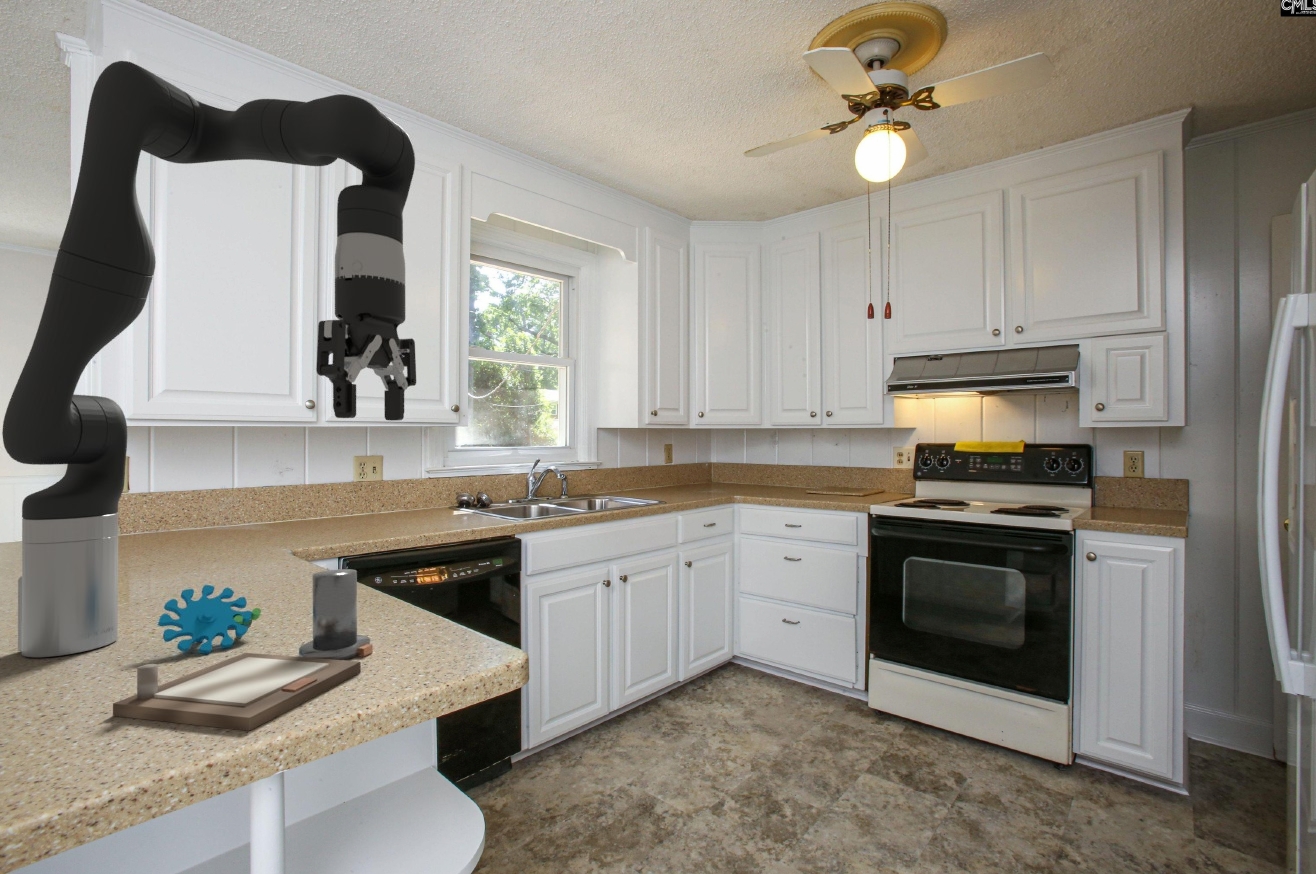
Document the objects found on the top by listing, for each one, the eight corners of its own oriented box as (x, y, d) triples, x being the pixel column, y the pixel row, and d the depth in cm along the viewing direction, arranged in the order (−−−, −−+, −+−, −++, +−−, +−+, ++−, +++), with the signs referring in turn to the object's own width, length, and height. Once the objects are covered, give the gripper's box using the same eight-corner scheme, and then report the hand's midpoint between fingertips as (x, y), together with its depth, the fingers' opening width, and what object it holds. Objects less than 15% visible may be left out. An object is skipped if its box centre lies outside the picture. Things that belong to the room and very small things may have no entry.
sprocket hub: (283, 660, 76) (283, 578, 76) (330, 640, 84) (330, 566, 84) (345, 665, 74) (345, 581, 74) (388, 644, 82) (388, 568, 82)
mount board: (112, 715, 61) (112, 672, 61) (245, 662, 75) (245, 627, 75) (249, 730, 57) (249, 685, 57) (360, 672, 72) (360, 635, 72)
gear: (156, 651, 75) (163, 582, 81) (148, 677, 78) (155, 608, 84) (262, 644, 82) (261, 581, 88) (252, 668, 85) (252, 606, 91)
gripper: (382, 296, 81) (382, 421, 80) (295, 266, 67) (295, 417, 67) (434, 293, 79) (434, 420, 79) (356, 261, 65) (357, 416, 65)
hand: (371, 419), depth 73 cm, fingers open, 8 cm apart
